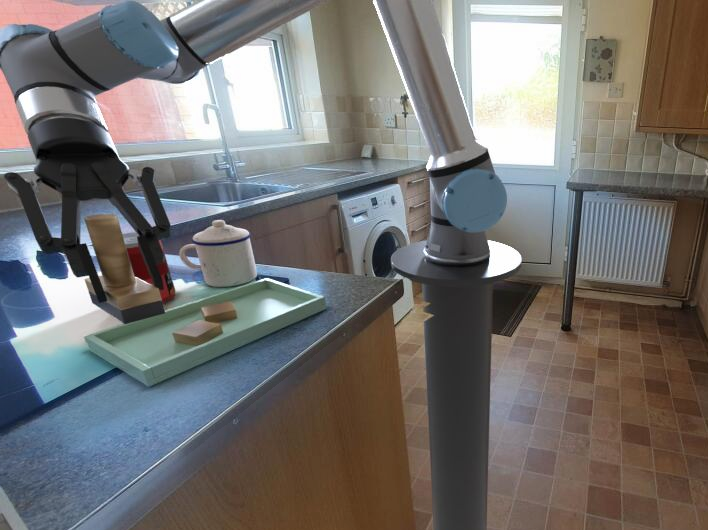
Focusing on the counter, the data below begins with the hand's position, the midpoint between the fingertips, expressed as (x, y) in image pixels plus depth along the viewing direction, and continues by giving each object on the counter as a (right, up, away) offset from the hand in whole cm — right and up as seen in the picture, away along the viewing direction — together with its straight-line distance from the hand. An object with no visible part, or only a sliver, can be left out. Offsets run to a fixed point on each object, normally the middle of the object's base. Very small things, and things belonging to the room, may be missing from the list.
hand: (131, 290), depth 49 cm
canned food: (-17, -2, +21) cm, 27 cm away
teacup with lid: (-11, +2, +31) cm, 33 cm away
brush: (-3, -2, +3) cm, 5 cm away
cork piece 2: (0, -4, +15) cm, 16 cm away
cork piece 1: (+1, -7, +9) cm, 12 cm away
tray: (+1, -6, +14) cm, 15 cm away
